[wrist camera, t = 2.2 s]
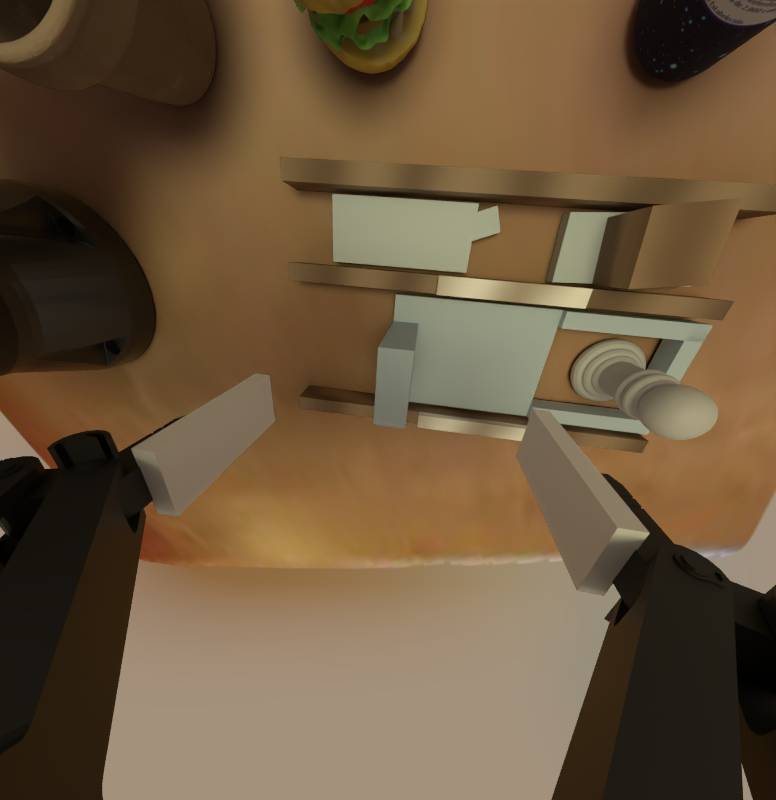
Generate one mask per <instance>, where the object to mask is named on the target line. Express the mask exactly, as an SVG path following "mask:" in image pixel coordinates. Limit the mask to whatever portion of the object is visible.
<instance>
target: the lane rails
mask: <svg viewBox="0 0 776 800" xmlns="http://www.w3.org/2000/svg"><path fill="white" fill-rule="evenodd" d="M280 166H281V178H282V181H283V182H285V183H287V184H288V185H290V186H292V187H294V188H295V189H297V190H308V191H323V192H339V193H354V194H369V195H385V196H400V197H415V198H431V199H446V200H461V201H477V202H492V203H507V204H523V205H538V206H553V207H569V208H584V209H599V210H615V211H630V212H631V211H635V210H639V209H643V208H646V207H650V206H656V205H667V204H678V203H690V202H701V201H712V200H723V199H734V198H744V199H743V202H742V204H741V207H740V209H739V212H738V214H737V217H736V218H737V219H746V218H753V217H760V216H767V215H774V214H776V185H774V184H756V183H738V182H720V181H702V180H684V179H666V178H648V177H630V176H612V175H594V174H576V173H558V172H540V171H522V170H504V169H486V168H468V167H450V166H432V165H414V164H396V163H378V162H360V161H342V160H324V159H306V158H288V157H280ZM288 267H289V279H290V280H293V281H304V282H315V283H325V284H336V285H347V286H358V287H368V288H379V289H390V290H401V291H412V292H422V293H433V294H436V295H443V296H453V297H464V298H475V299H486V300H496V301H507V302H518V303H529V304H539V305H550V306H561V307H572V308H582V309H586V308H595V309H606V310H616V311H627V312H638V313H649V314H659V315H670V316H681V317H692V318H703V319H713V320H723V319H724V317H725V315H726V314H727V312H728V311H729V309H730V307H731V306H732V304H733V302H734V301H727V300H719V299H710V298H702V297H691V296H680V295H668V294H657V293H645V292H634V291H623V290H611V289H600V288H588V287H577V286H565V285H554V284H542V283H531V282H519V281H508V280H496V279H485V278H473V277H462V276H450V275H439V274H427V273H416V272H404V271H393V270H381V269H370V268H358V267H347V266H335V265H324V264H312V263H295V262H288ZM299 405H300V408H302V409H310V410H317V411H325V412H332V413H340V414H348V415H355V416H363V417H371V418H374V407H375V394H370V393H362V392H354V391H346V390H338V389H330V388H322V387H314V386H309V387H308V388H307V389H306V390H305V391H304V392H303V393H302V394H301V395H300V396H299ZM528 421H529V419H528V418H527V416H520V415H512V414H504V413H496V412H488V411H480V410H472V409H464V408H456V407H448V406H440V405H432V404H424V403H416V402H409V403H408V410H407V417H406V422H409V423H416V424H417V427H418V428H426V429H433V430H441V431H449V432H456V433H464V434H471V435H479V436H486V437H494V438H501V439H509V440H517V441H522V438H523V435H524V433H525V430H526V427H527V424H528ZM561 426H562V427H563V428H564V429H565V430H566V432H567V433H568V434H569V435H570V437H571V438H572V439H573V440H574V441H575V443H576V444H577V445H584V446H592V447H599V448H607V449H614V450H622V451H630V452H637V453H642V451H643V450H644V448H645V446H646V445H647V443H648V442H649V441H648V440H646V439H645V438H644V437H643V436H641V435H640V434H638V433H630V432H622V431H614V430H606V429H599V428H591V427H583V426H575V425H567V424H561Z"/></svg>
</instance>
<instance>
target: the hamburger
mask: <svg viewBox="0 0 776 800" xmlns="http://www.w3.org/2000/svg"><path fill="white" fill-rule="evenodd" d="M294 1H295V3H296V5H297V7H298V8H299V10H300V12H301V13H303V12H304V10H305V8H306V9H307V10H308V13H309V17H310V20H311V24H312V26H313V29H314V30H315V32H316V34H317V35H318V37H319V38H320V39H321V40H323V41H324V42H325V44H326V45H327V47H328V48H329V49H330V50H331V51H332V53H333V54H334V55H336V56H337V57H338V58H339V59H340V60H341V61H342V62H343V63H345V64H346V65H347V66H349V67H351V68H353V69H356V70H358V71H360V72H365V73H371V74H374V73H380V72H385V71H388V70H390V69H392V68H393V67H395V66H396V65H397V64H398V63H400V62H401V61H402V60H403V59H404V58H405V57H406V55H407V54H408V52H409V51H410V50H411V49H412V48H413V47H414V45H415V44H416V42H417V40H418V37H419V34H420V30H421V28H422V26H423V24H424V21H425V12H426V5H427V1H428V0H294Z"/></svg>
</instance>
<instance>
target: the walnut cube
mask: <svg viewBox="0 0 776 800" xmlns="http://www.w3.org/2000/svg"><path fill="white" fill-rule="evenodd" d="M743 199H744V198H734V199H723V200H712V201H701V202H690V203H678V204H667V205H656V206H650V207H646V208H643V209H639V210H635V211H631V212H627V213H623V214H619V215H616V216H612V217H608V219H607V223H606V227H605V231H604V236H603V240H602V244H601V248H600V252H599V256H598V261H597V265H596V269H595V273H594V277H593V281H592V285H599V286H607V287H615V288H623V289H641V288H660V287H679V286H698V285H709V282H710V280H711V277H712V275H713V273H714V270H715V268H716V265H717V263H718V260H719V258H720V256H721V253H722V251H723V248H724V246H725V243H726V241H727V238H728V236H729V234H730V231H731V229H732V226H733V224H734V221H735V219H736V217H737V214H738V212H739V209H740V207H741V204H742V202H743Z"/></svg>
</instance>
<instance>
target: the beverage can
mask: <svg viewBox="0 0 776 800" xmlns="http://www.w3.org/2000/svg"><path fill="white" fill-rule="evenodd" d="M775 21H776V0H640V3H639V7H638V11H637V15H636V21H635V34H634V36H635V47H636V52H637V56H638V58H639V61H640V63H641V65H642V66H643V68H644V69H645V70H646V71H647V72H648V73H649V74H650V75H652V76H653V77H655V78H657V79H660V80H664V81H679V80H683V79H687V78H690V77H693V76H695V75H697V74H699V73H701V72H703V71H704V70H706V69H708V68H709V67H711V66H712V65H714V64H715V63H716V62H718V61H719V60H721V59H722V58H724V57H725V56H726V55H728V54H729V53H731V52H732V51H734V50H735V49H737V48H738V47H739V46H741V45H742V44H744V43H745V42H747V41H748V40H749V39H751V38H752V37H754V36H755V35H757V34H758V33H760V32H761V31H762V30H764V29H765V28H767V27H768V26H770V25H771V24H772V23H774V22H775Z"/></svg>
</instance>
